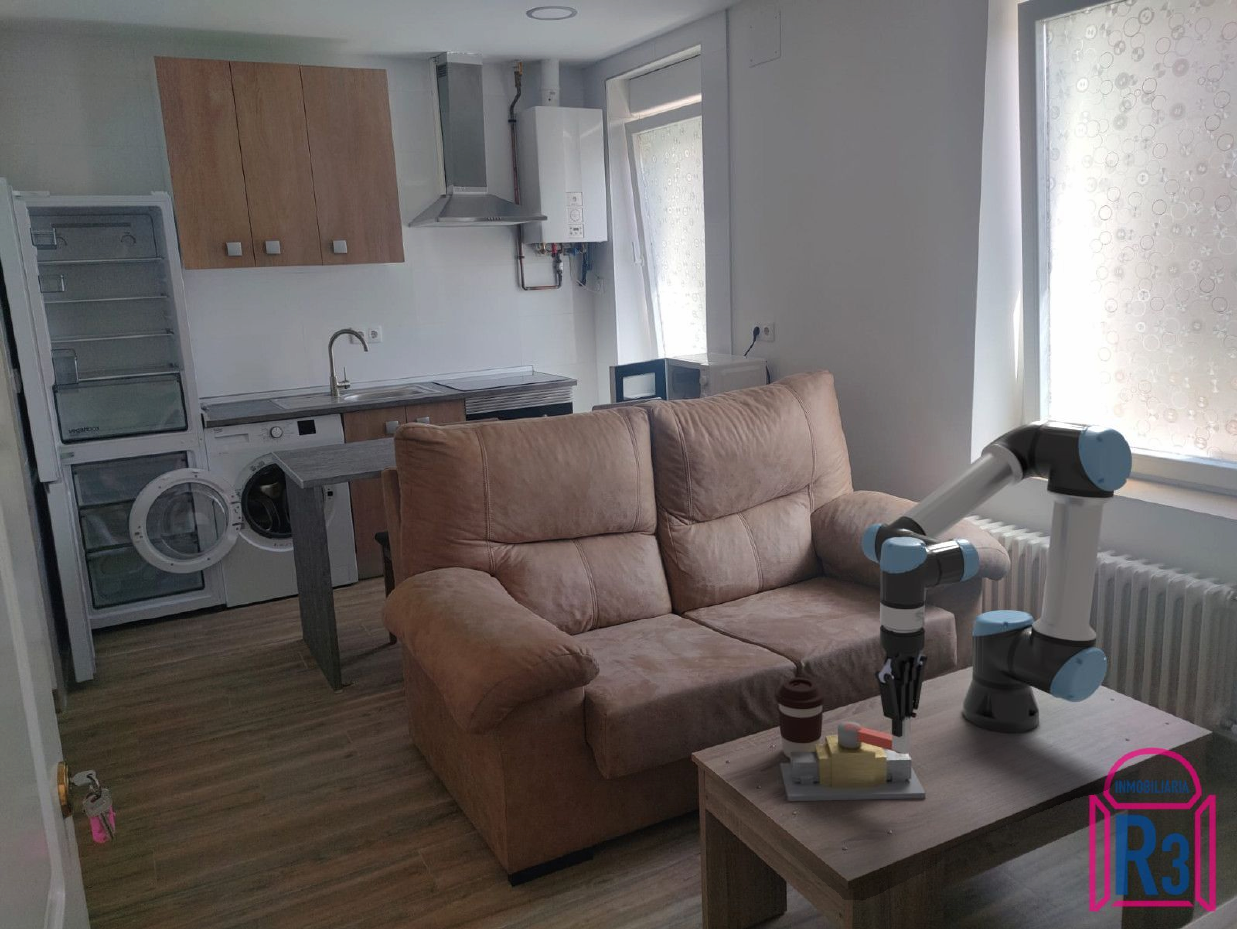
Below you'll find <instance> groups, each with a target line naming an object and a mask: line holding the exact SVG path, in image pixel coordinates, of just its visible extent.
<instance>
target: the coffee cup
mask: <svg viewBox="0 0 1237 929" xmlns="http://www.w3.org/2000/svg"><path fill="white" fill-rule="evenodd" d="M774 696H775V698H774V699H775V701H776V702H777V704H778V707H777V712H778V722H779V723H778V724H779V731H780V732H779V734H780V736H781V742H782V743H781V744H782V751H783V752H782V753H783V754H784V755H785V756H786V757H787V758H788V759H790V752H815V744H821V743H820V742H821V737H822V734H823V732H822V730H823V718H824V717H823V715H824V714H823V713H824V708H823V705H824V703H825V702H826V691H825V689H824V688H823V687H821V686H820V685H818V684H817V682H815V681H814V680H812V679H810V678H806V677H792V678H788V679H785V681H784V682H783V683H782V684H780V685H778V686H777V687H776V688H775V690H774Z"/></svg>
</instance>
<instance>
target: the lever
mask: <svg viewBox="0 0 1237 929" xmlns="http://www.w3.org/2000/svg"><path fill="white" fill-rule="evenodd" d="M837 735H838V743H839V744H840V745H841V746H843V747H847V748H856V747H859V746H861V744H862V743H866V744H870V745H873V746H877V747H881V748H882V749H883V750H892V751H895V750H893V749H892V733H891V734H890V733H886V732H882V731H879V730H874V729H871V728H866V727H863V726H862V725H861V723H858V722H855V721H852V720H851V721H849V720H844V721H841V722H839V723H838V724H837ZM895 752H897V753H900V752H898V751H895ZM900 754H903V753H900Z"/></svg>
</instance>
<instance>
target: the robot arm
mask: <svg viewBox="0 0 1237 929" xmlns="http://www.w3.org/2000/svg"><path fill="white" fill-rule="evenodd" d="M980 453H981V454H980V456H979V457H978V458H977V459H975V460H974V461H973V462H971V463H970V464H969V465H967V466H966V467H965V468H963V470H961V471H960V472H957V474H955V475H954V476H953V477H952V478H950V479H949V480H947V481H946V482H945V483H943V485H941V486H940V487H938V488H937V489H935V490H934V491H933V492H931V493H930V494H928V496H926V497H925V498H924V499H922V500H921V501H920V502H918V503H917V504H916V505H915V506H913V507H911V509H909V510H907V511H906V512H905V513H904V514H902V515H901V516H900V517H899V518H897V519H895V520H894V521H893V522H892V523H890V524H888V523H880V522H878V523H874V524H870V525H869V526H868V527H867V528H866V530H865V531H864V533H863V535H862V537H861V549H862V552H863V554H864V556H865V557H866V558H867V559H869V560H871V561H873V562H875V563H877V564H879V567H880V569H879V570H880V571H879V572H880V575H879V576H880V578H879V579H880V580H879V581H880V582H879V583H880V602H879V606H880V607H879V610H880V611H879V622H880V624H881V625H880V627H879V645H880V646H881V647H882V649H883V650H884V652H885V656H884V659H883V665H884V666H883V668H882V670H881V671H880V670H876V671H875V672H874V677H875V678H876V681H877V682H878V687H879V688H878V689H879V695H880V699H881V707H882V713H883V717H885V718H887V719H891V735H892V749H893V750H895V751H898V752H900V753H903V754H907V753H908V754H909V753H910V746H911V745H910V742H911V741H910V739H911V738H910V736H911V731H910V730H911V718H913V719H915V718H917V716H918V715H917V714H918V713H916V712H914V710H915V711H917V710H918V709H919V706H920V705H919V704H920V701H921V700H920V699H921V698H920V697H921V693H922V692H921V691H922V685H923V680H924V671H925V668H926V665H927V662H928V658H929V657H928V656H927V655H924V654H921V651H923V650H924V649H925V645H926V644H925V642H926V641H925V634H926V630H925V628H924V626H925V623H926V622H925V620H926V612H925V609H926V608H925V607H926V606H925V605H926V597H927V596H926V595H927V594H926V593H927V592H926V590H929V589H930V590H931V589H933V588H937V587H942V586H946V585H951V584H958V583H961V582H962V581H966V580H969V579H971V578H972V577H974V576H975V575H976V574H977V572H978V571H979V567H980V556H979V553H978V550H977V548H976V547H975V545H974V544H973V543H972V542H971V541H969V540H967V539H965V538H950V539H948V540H941V539H938V538H940V537H941V536H943V535H944V534H946V533H947V532H948V531H950V530H951V529H952V528H953V527H954V526H956V525H957V524H958V523H960V522H961V521H962V520H964V519H965V518H966V517H968V516H969V515H970V514H971V513H973V512H974V511H975V510H976V509H978V508H979V507H981V506H982V505H983V504H985V503H986V502H987V501H988V500H990V499H991V498H992V497H993V496H995V495H996V494H997V493H998V492H1000V491H1001V490H1002V489H1004V488H1005V487H1007V486H1008V487H1013V486H1016V485H1017V484H1019V483H1020V482H1022V481H1023V480H1026V479H1030V478H1041V479H1044V480H1045V479H1046V480H1047V487H1046V492H1047V493H1048V494H1049V495H1050V496H1051V497H1052V499H1053V510H1052V517H1051V528H1050V536H1049V546H1048V554H1047V564H1046V573H1045V580H1044V581H1045V583H1044V590H1043V600H1042V607H1041V615H1040V618H1038V619H1037V620H1034V617H1033V616H1032V615H1031V614H1030V613H1028V612H1025V611H1020V610H1011V609H1010V610H1009V609H1006V610H1005V609H1002V610H1000V609H999V610H991V611H987V612H982V613H980V614H978V616H976V618H975V619H974V621H973V629H972V630H973V632H972V633H971V635H972V677H971V682H970V684H969V686H968V689H967V692H966V694H965V696H964V699H963V704H962V705H963V706H962V714H963V716H964V718H965V719H966V720H967V721H968V722H970V723H972V724H973V725H975V726H978V727H980V728H982V729H986V730H990V731H993V732H999V733H1001V732H1002V733H1021V732H1026V731H1030V730H1033V729H1034V728H1036V726H1038V724H1039V722H1040V710H1039V705H1038V703H1037V700H1036V697H1035V693H1034V691H1033V688H1034V689H1036V690H1039V691H1042V692H1044V693H1046V694H1049V695H1051V697H1053V698H1057V699H1060V700H1061V699H1062V700H1065V701H1067V702H1070V703H1078V702H1079V703H1080V702H1083V701H1085V700H1087V699H1088V698H1090V697H1091V696H1093V695H1094V694H1095V692H1096V691H1097V690H1098V689H1099V688H1100V687H1101V684H1102V683H1103V681H1104V679H1105V677H1106V674H1107V669H1108V659H1107V656H1106V653H1105V652H1104V651H1102V649H1100V648H1098V647H1096V642H1097V633H1096V631H1095V630H1094V629H1093V628H1092V627H1091V625H1090V620H1091V619H1090V618H1091V610H1092V602H1093V594H1094V585H1095V579H1096V578H1095V577H1096V569H1097V561H1098V552H1099V544H1100V536H1101V527H1102V526H1101V525H1102V519H1103V510H1104V506H1105V505H1106V503H1108V502H1110V501H1111V500H1112V499H1113V498H1114V495H1115V494H1114V493H1115V492H1116V491H1117V490H1120V489H1122V488H1123V487H1124V486H1125V485H1126V484H1127V479H1129V477H1130V476H1131V472H1132V467H1133V456H1132V455H1133V454H1132V451H1131V448H1130V444H1129V443H1128V441H1127V439H1125V437H1124V435H1123V434H1122V433H1121V432H1119V430H1116V429H1114V428H1111V427H1110V428H1109V427H1106V426H1102V425H1101V426H1100V425H1096V424H1086V423H1085V424H1084V423H1078V422H1077V423H1076V422H1074V423H1073V422H1065V421H1057V420H1051V419H1043V420H1035V421H1032V422H1028V423H1025V424H1023V425H1020V426H1018V427H1015V428H1013V429H1011V430H1009V431H1007V432H1005V433H1004V434H1002V435H1000V436H999V437H997V438H996V439H994V440H993V441H991V442H990V443H988V444H987V445H986V446H985V447H983V449H982V450H981V452H980Z"/></svg>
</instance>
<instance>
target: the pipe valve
mask: <svg viewBox="0 0 1237 929" xmlns="http://www.w3.org/2000/svg"><path fill="white" fill-rule="evenodd" d="M824 740H825V742H824V743H820V744H815V752H790V758H789V759H790V760H789V763H790V769H791V775H792V779H793V782H800V785H801V786H813V785H814V782H819V785H820V786H832V788H848V787H875V785H886V783H887V780H891V782H892V784H893V783H905V779H911V766H912V757H911V756H910V754H909V752H908V753H907V754H900V753H897V752H895V751H892V750H888V749H884V748H881V747H877V746H873V745H870V744H866V743H862V744H861V746H859V747H856V748H847V747H843V746H841V745H840V744H839V743H838V734H833V735H832V734H829V735H826V734H825V739H824Z"/></svg>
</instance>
